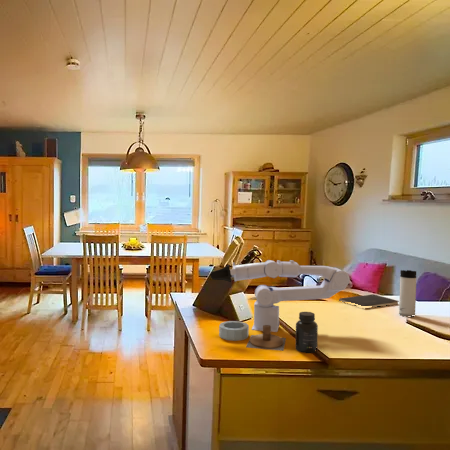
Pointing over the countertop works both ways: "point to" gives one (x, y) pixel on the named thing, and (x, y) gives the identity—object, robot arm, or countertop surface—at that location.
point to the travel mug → (407, 293)
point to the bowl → (233, 330)
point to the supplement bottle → (306, 333)
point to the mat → (267, 348)
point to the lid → (266, 339)
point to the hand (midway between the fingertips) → (211, 276)
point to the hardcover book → (370, 300)
